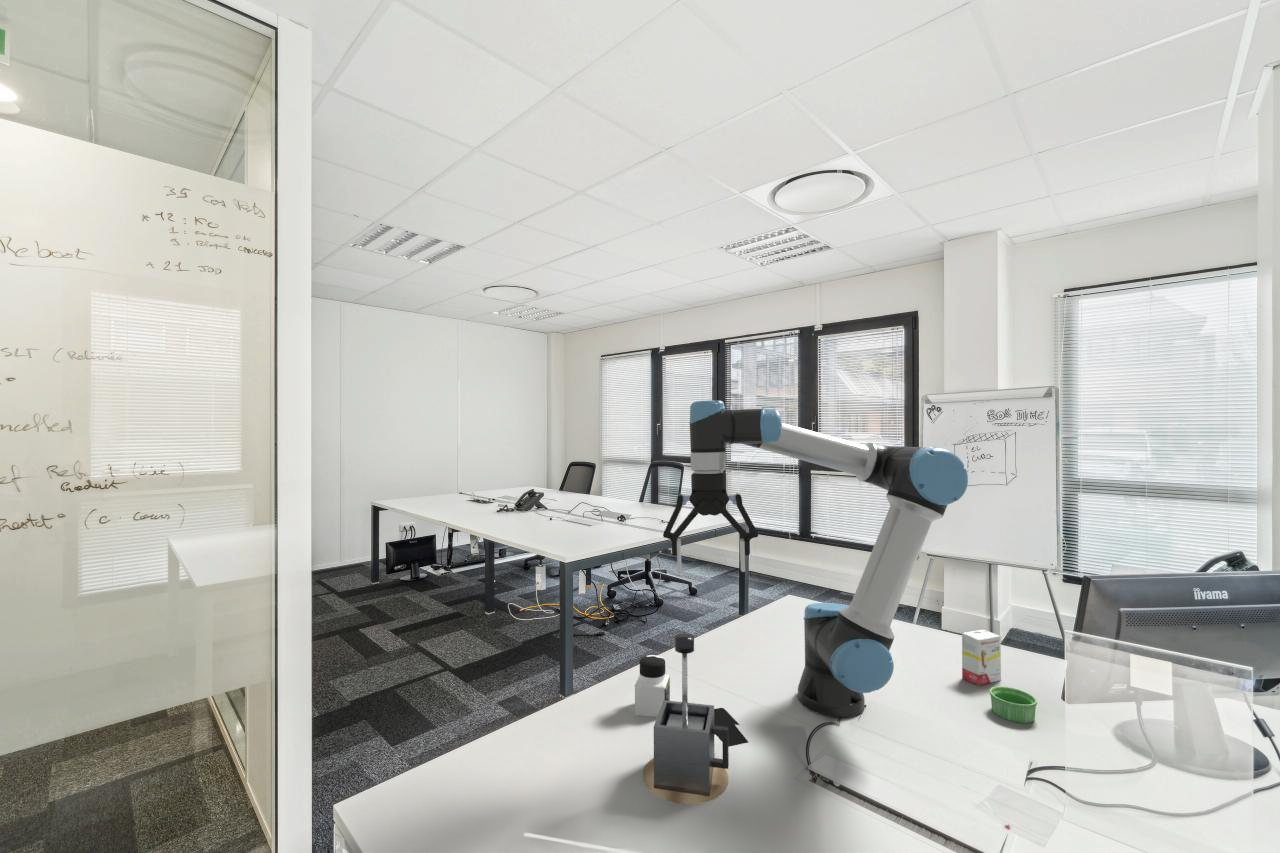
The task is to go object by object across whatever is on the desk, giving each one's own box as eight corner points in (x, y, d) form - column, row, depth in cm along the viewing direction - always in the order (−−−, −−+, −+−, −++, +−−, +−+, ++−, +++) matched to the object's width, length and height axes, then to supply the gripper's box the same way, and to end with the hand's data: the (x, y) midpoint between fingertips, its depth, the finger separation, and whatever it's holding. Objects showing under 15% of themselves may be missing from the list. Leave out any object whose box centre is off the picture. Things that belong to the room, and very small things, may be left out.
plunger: (705, 720, 103) (704, 631, 103) (701, 740, 96) (700, 645, 97) (670, 716, 105) (669, 629, 105) (663, 735, 98) (663, 642, 98)
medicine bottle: (665, 719, 121) (665, 665, 121) (634, 716, 122) (634, 663, 123) (670, 704, 128) (669, 653, 128) (640, 701, 129) (640, 651, 130)
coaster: (731, 757, 106) (731, 755, 106) (725, 812, 91) (725, 810, 91) (652, 747, 110) (652, 745, 110) (633, 798, 94) (633, 796, 94)
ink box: (978, 686, 136) (977, 639, 136) (961, 678, 141) (960, 633, 141) (1002, 681, 139) (1001, 635, 139) (984, 673, 144) (983, 628, 144)
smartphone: (723, 707, 126) (756, 741, 111) (723, 710, 126) (756, 745, 111) (696, 711, 123) (726, 746, 109) (696, 714, 123) (726, 751, 109)
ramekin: (980, 707, 126) (979, 688, 126) (1012, 703, 128) (1011, 684, 128) (1014, 727, 117) (1013, 706, 117) (1047, 722, 119) (1047, 702, 119)
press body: (730, 764, 103) (729, 707, 104) (726, 798, 94) (726, 735, 94) (663, 756, 106) (663, 700, 107) (653, 788, 97) (653, 726, 97)
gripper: (764, 469, 118) (767, 566, 118) (652, 471, 121) (654, 566, 121) (769, 472, 111) (772, 574, 110) (649, 474, 113) (652, 574, 113)
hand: (711, 570), depth 115 cm, fingers open, 13 cm apart
